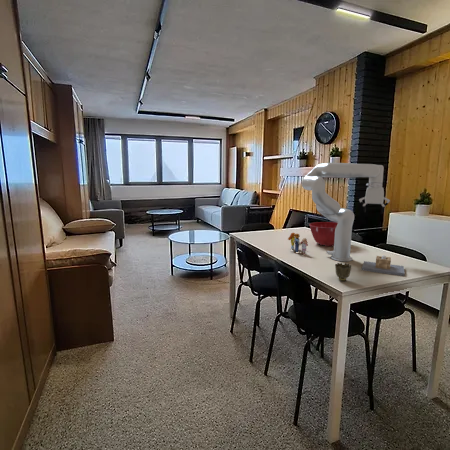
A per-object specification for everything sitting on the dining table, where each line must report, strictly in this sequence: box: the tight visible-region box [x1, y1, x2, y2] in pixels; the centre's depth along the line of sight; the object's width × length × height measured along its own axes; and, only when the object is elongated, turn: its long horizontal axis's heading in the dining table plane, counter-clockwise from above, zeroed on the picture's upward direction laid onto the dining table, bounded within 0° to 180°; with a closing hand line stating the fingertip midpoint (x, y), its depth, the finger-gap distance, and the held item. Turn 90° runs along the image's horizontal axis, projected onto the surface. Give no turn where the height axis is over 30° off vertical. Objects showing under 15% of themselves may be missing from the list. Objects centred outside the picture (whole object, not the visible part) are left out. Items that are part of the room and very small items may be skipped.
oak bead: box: [375, 255, 392, 269], centre depth 160 cm, size 7×7×5 cm
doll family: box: [287, 232, 309, 255], centre depth 198 cm, size 21×10×13 cm, turn 7°
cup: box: [334, 262, 352, 282], centre depth 143 cm, size 8×7×8 cm
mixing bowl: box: [309, 221, 338, 247], centre depth 219 cm, size 28×28×15 cm
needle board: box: [361, 255, 405, 277], centre depth 160 cm, size 20×14×8 cm
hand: (373, 212), depth 182 cm, fingers open, 9 cm apart
